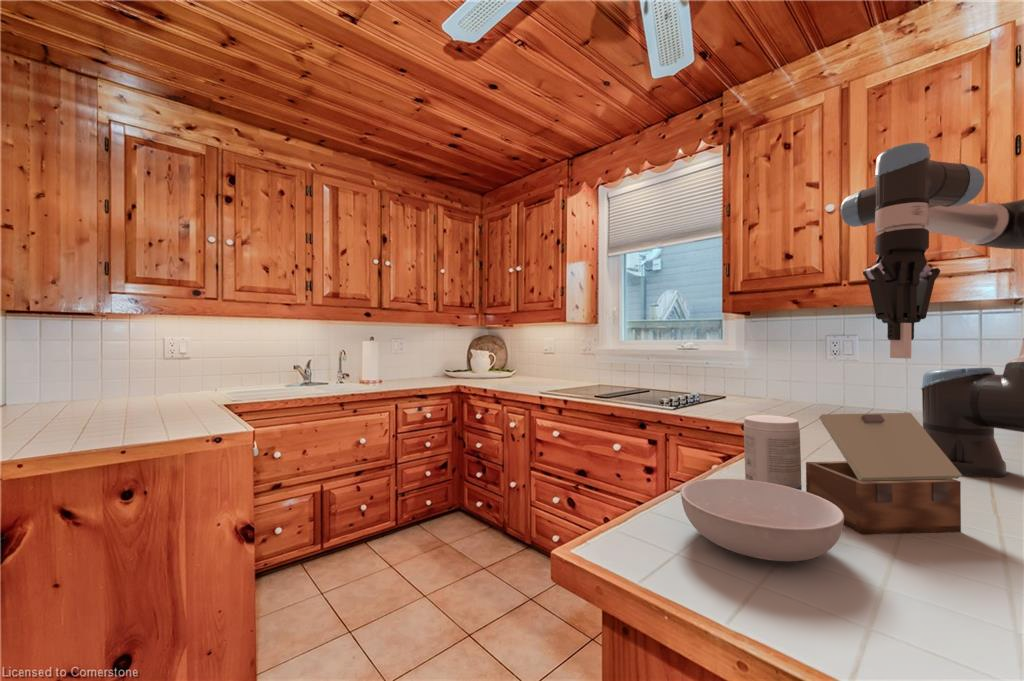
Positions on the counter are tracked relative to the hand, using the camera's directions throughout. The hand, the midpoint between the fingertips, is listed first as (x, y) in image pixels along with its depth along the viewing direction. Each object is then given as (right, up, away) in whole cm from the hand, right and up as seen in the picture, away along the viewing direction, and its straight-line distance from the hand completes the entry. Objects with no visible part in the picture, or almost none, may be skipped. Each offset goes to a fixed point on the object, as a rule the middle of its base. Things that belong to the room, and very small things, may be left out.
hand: (900, 358), depth 81 cm
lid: (-11, -14, -9) cm, 20 cm away
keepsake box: (-10, -27, -7) cm, 30 cm away
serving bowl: (-36, -27, -16) cm, 48 cm away
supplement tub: (-21, -27, +5) cm, 35 cm away
